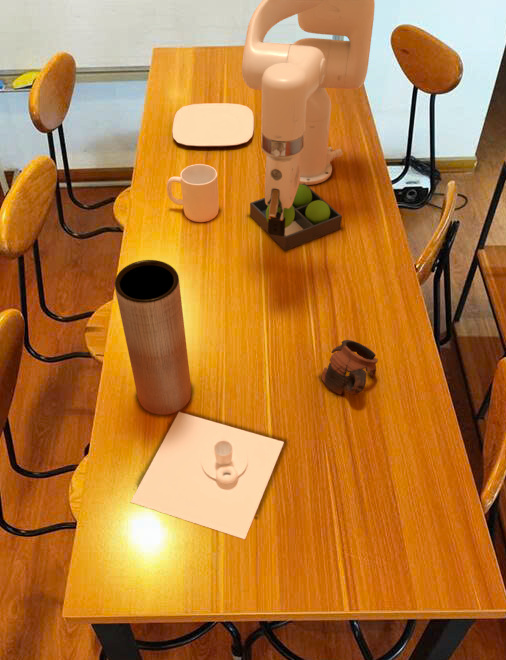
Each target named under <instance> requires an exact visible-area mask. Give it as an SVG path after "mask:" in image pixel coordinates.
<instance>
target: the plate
mask: <svg viewBox="0 0 506 660" xmlns="http://www.w3.org/2000/svg"><path fill="white" fill-rule="evenodd" d="M254 118H255V117H254V113H253V110H252V109H251V108H250V107H249V106H247V105H243V104H240V103H230V102H229V103H228V102H227V103H226V102H225V103H220V102H218V103H217V102H215V103H211V102H209V103H207V102H206V103H191V104H188V105H184V106H182V107H180V108H179V109H178V110H177V111H176V113H175V114H174V118H173V123H172V138H173V140H174V141H175V142H176V143H177V144H180V145H183V146H187V147H201V148H207V147H210V148H213V147H216V148H217V147H234V146H235V147H236V146H239V145H242V144H246V143H248V142H249V141H250V140H251V139H252V138H253V135H254V131H255V130H254V129H255V122H254V121H255V119H254Z"/></svg>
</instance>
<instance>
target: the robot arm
mask: <svg viewBox="0 0 506 660" xmlns="http://www.w3.org/2000/svg"><path fill="white" fill-rule="evenodd" d="M375 5H376V4H375V0H260V2H259V4H258V5H257V7H256V8H255V10H254V11H253V13H252V15H251V17H250V19H249V21H248V25H247V29H246V35H245V41H244V47H243V52H242V61H241V62H242V64H241V75H242V79H243V82H244V84H245V85H246V86H247V87H248V88H250V89H252V90H256V91H261V131H260V132H261V135H260V137H261V139H260V140H261V141H260V142H261V143H260V144H261V145H260V146H261V151H262V153H263V154H264V155H265V156H266V157H265V158H266V159H265V173H264V175H265V176H264V177H265V178H264V179H265V180H264V198H265V203H266V205H267V206H269V205H270V206H269V217H268V233H267V235H269V234H270V235H277V236H284V234H285V218H284V211H285V208H287V209H289V208H290V207H291V206H292V204H293V201H294V198H295V195H296V193H297V190H298V187H299V184H304V183H305V184H306V185H307V186H311V185H318V184H320V183H323V182H325V181H327V180H328V179H329V178H330V177H331V176H332V172H333V166H332V164H331V162H333V160H334V159H338V158H340V157H342V156H343V155H344V152H343V149H342V148H337V149H334V150H333V147H332V146H331V145H330V146H329V138H330V127H331V115H332V101H331V97H330V94H329V93H328V91H327V89H337V90H358V89H361V87H362V86H363V85H364V83H365V81H366V79H367V74H368V69H369V60H370V53H371V44H372V36H373V27H374V19H375ZM295 15H297V24H298V26H299V28H300V29H301V30H302V31H303V32H305V33H308V34H316V35H325V36H326V35H328V36H338V37H339V36H340V37H346V38H347V39H348V40H341V39H331V38H320V37H319V38H318V37H317V38H316V37H307V38H301V39H298V40H296V41H295V42H294V43H293V44H291V43H279V42H265V41H264V40H265V37H266V36H267V34H268V32H270V30H271V29H272V28H273V27H274V26H275V25H277V24H279V23H281V22H282V21H284V20H287V19H288V18H290V17H291V18H292V16H295ZM279 200H280V201H281V203H280V202H279ZM278 207H280V208H281V214H280V212H278V211H277V208H278ZM270 235H269V236H270Z"/></svg>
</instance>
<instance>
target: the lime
mask: <svg viewBox="0 0 506 660" xmlns="http://www.w3.org/2000/svg"><path fill="white" fill-rule="evenodd" d="M279 202H280V203H281V201H280V200H279ZM269 206H270V205H269ZM269 206H268V207H267V210H266V219H267V221H268V217H269ZM277 211H278V212H280V214H281V208H280V207H278V208H277ZM294 217H295V211H294V208H293V206H291V207H290V208H289V209H287V208H285V211H284V218H285V228H287V227H288V226H290V225H291V223H292V222H293V220H294Z"/></svg>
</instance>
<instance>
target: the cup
mask: <svg viewBox="0 0 506 660" xmlns="http://www.w3.org/2000/svg"><path fill="white" fill-rule="evenodd" d="M173 183H178V184H180V186H181V196H182V197H181V198H182V199H181V198H176V197H175V196H174V195H173V191H172V185H173ZM166 193H167V197H168V199H169V200H170V201H171V202H172V203H173V204H176V205H179V206H182V207H183V214H184V215H185V217H186V218H187V219H188V220H190V221H191V222H195V223H205V222H210V221H212V220H213V219H215V218H216V217H217V216H218V213H219V210H220V205H219V204H220V203H219V202H220V201H219V181H218V172H217V170H216V168H215V167H213V166H211V165H209V164H203V163H195V164H191V165H188V166H186V167H184V168H183V169H182V170H181V172H180V175H179V176H171V177H170V178H169V179H168V180H167V183H166Z"/></svg>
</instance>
